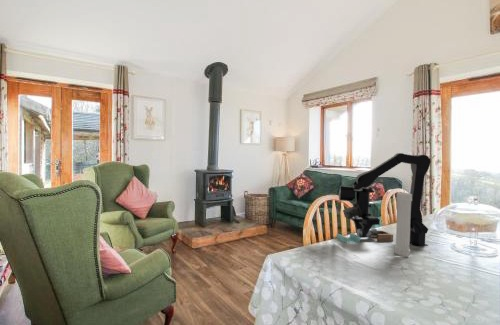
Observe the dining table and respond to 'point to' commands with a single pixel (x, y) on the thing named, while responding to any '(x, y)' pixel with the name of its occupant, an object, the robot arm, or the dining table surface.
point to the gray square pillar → (403, 223)
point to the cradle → (349, 238)
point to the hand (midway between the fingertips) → (361, 235)
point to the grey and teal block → (371, 233)
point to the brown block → (383, 236)
